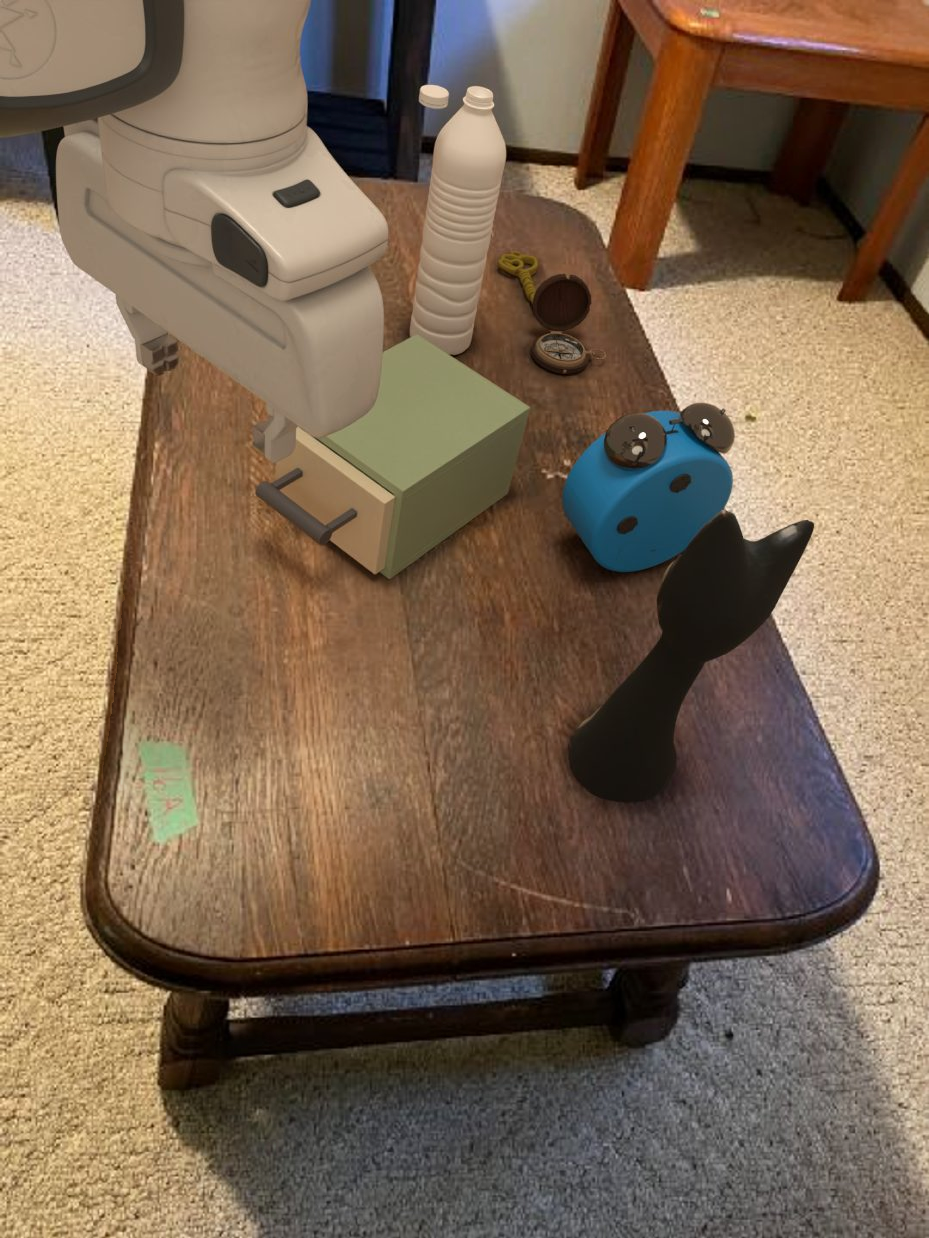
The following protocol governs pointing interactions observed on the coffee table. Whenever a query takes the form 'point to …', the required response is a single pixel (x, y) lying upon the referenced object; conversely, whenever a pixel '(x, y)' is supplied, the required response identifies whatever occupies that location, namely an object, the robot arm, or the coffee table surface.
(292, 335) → the robot arm
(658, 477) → the alarm clock
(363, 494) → the drawer
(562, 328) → the compass
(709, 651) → the figurine
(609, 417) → the coffee table surface
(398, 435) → the cabinet
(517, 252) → the key
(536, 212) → the coffee table surface
